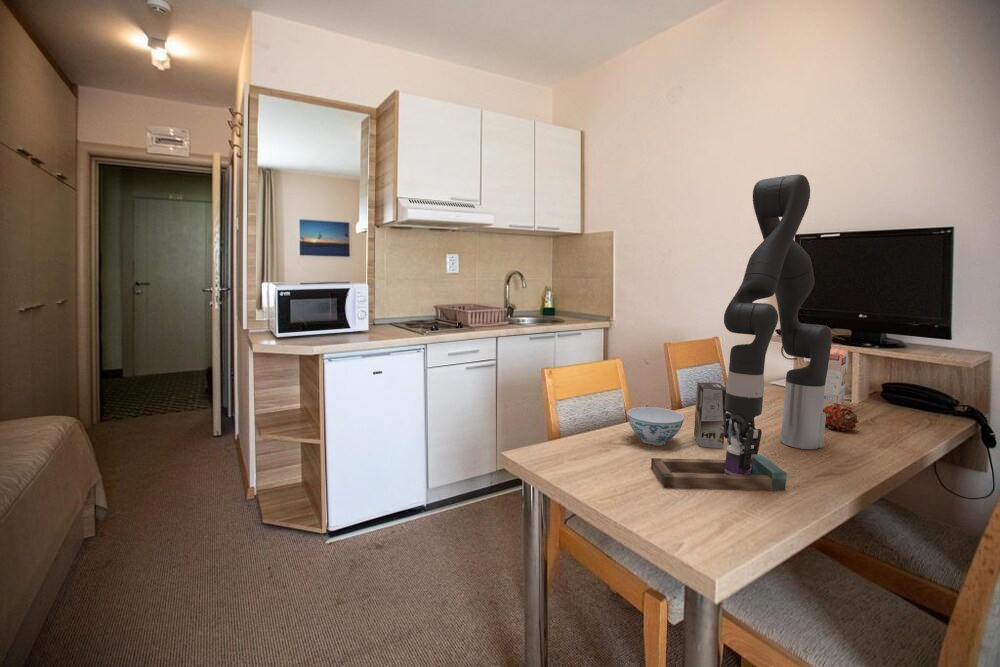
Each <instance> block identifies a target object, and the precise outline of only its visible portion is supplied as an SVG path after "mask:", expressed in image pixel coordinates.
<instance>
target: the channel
mask: <svg viewBox="0 0 1000 667" xmlns="http://www.w3.org/2000/svg"><path fill="white" fill-rule="evenodd" d="M650 460H651V462H650V469H651V470H652V472H653V473H654V474H655V476H656V478H657V479H658V480H659V482H660V484H661V485H662V486H663V488H664V489H698V490H699V489H700V490H701V489H703V490H737V491H738V490H743V491H744V490H745V489H747V490H748V491H752V490H753V491H754V490H755V491H784V490H785V491H786V486H787V478H788V477H787V476H788V473H787V472H786V471H785V470H783V469H782V468H781V467H779V466H778V465H777V464H775V463H774V462H773V461H772V460H771V459H769V458H767V457H766V456H765V455H763V454H762V453H761V454H760V453H758V454H753V457H752V468H751V475H725V463H726V459H717V458H716V459H711V458H710V459H709V458H708V459H707V458H706V459H705V458H666V457H665V458H661V457H659V458H656V457H655V458H654V457H652V458H651V459H650ZM745 491H746V490H745Z"/></svg>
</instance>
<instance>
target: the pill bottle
mask: <svg viewBox="0 0 1000 667" xmlns="http://www.w3.org/2000/svg"><path fill="white" fill-rule="evenodd" d="M742 439H745V440H746V438H742ZM744 448H745V443H744ZM752 457H753V454H752V455H751V466H750V470H748V471H746V470H741V469H739V459H740V444H739V443H738V442H737V436H736V435H734V436H731V445H729V444H728V445H727V447H726V453H725V460H726V463H725V473H724V475H752V474H751V468H752Z"/></svg>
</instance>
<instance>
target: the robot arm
mask: <svg viewBox="0 0 1000 667" xmlns="http://www.w3.org/2000/svg"><path fill="white" fill-rule="evenodd" d="M810 198H811V187H810V182H809V179H808V178H807V176H805V175H803V174H799V173H798V174H789V175H784V176H782V175H781V176H777V177H770V178H764V179H761V180H758V181H757V182H756V183H755V185H754V186H753V189H752V204H753V209H754V214H755V218H756V220H757V223H758V226H759V229H760V233H761V236H762V239H763V241H762V242H761V243H760V244H759V245H758V246H757V247H756V248H755V249H754V251H753V252H752V253H751V255H750V257H749V259H748V261H747V265H746V268H745V272H744V276H743V279H742V282H741V284H740V286H739V288H738V289H737V291H736V293H734V296H733V297H732V299H731V300H730V302H729V303H728V306H727V307H726V308H725V311H724V315H723V324H724V327H725V329H726V330H727V331H728V332H730V333H733V334H739V335H740V334H741V335H748V336H749V335H751V336H754V339H753V340H752V342H751V343H742V344H741V343H740V344H736V345H733V346H732V347H731V349H730V353H729V363H728V364H729V365H728V366H729V367H728V373H727V379H726V386H725V388H726V397H725V410H726V413H724V439H726V441H727V444H728V446H729V445H731V436H734V435H736V436H737V442H738V443H739V444H740V459H739V469H741V470H746V471H748V470H750V466H751V455H752V454H759V449H760V444H761V439H762V435H763V434H762V433H763V431H762V429H760V428H756V423H755V418H756V417H759V416H761V415H762V413H763V403H764V402H763V401H764V393H765V392H764V389H765V377H764V376H765V375H764V374H765V363H766V356H767V351H768V348H769V344H770V342H771V341H772V340H771V339H772V337H773V335H774V332H775V331H776V328H777V325H778V322H779V325H780V326H779V327H780V337H781V344H782V348H783V351H784V352H785V354H787V355H788V356H790V357H795V358H801V359H809V364H808V365H806V366H804V367H800V368H794V369H790V370H787V371H786V375H785V386H784V387H785V388H784V399H783V408H782V421H781V422H782V423H781V432H780V433H781V434H780V442H781V443H782V444H784V445H786V446H789V447H792V448H796V449H802V450H816V449H820V448H824V441H825V440H824V439H825V432H826V430H825V429H826V413H824V412H823V404H824V393H825V383H826V376H827V371H828V363H829V357H830V351H831V348H832V344H833V334H832V329H831V328H830V327H829V326H827V325H824V324H813V323H812V324H811V323H801V322H800V321H799V315H798V314H799V311H800V309H801V307H802V305H803V304H804V302H805V301H806V300H807V298H808V297H809V295H810V294H811V292H812V290H813V288H814V286H815V275H814V268H813V263H812V260H811V257H810V255H809V254H808V253H807V251H806V250H805V249H804V248H803V247H802V246H801V245H800V244H799V243H798V242H797V241H796V240H794V238H795V237H796V234H797V232H798V230H799V228H800V226H801V223H802V221H803V218H804V217H805V214H806V211H807V209H808V208H809V203H810ZM780 218H781V219H780ZM774 295H775V298H776V299H775V300H776V305H777V308H775V306H774V305H773V304H771V303H764V302H762V303H761V302H756V301H759V300H762V299H768V298H770V297H773V296H774ZM742 438H746V440H745V439H742ZM744 443H745V448H744Z"/></svg>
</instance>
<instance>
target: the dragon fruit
mask: <svg viewBox="0 0 1000 667" xmlns="http://www.w3.org/2000/svg"><path fill="white" fill-rule="evenodd" d="M833 404H834V405H831V406H826V407H825V408H823V412H824V413H826V422H825V425H827V428H828V429H830V430H834V429H837V430H838V431H842V432H845V431H846V430H847V429H851V430H853V429H855V428H856V427H857V426H856V425H857V424H858V423H860V421H859V420H858V414H856V412H855V411H854V410H852V408H851V407H850V406H848V405H847V404H845V403H843V404H842V405H841V404H837V403H833Z"/></svg>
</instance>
